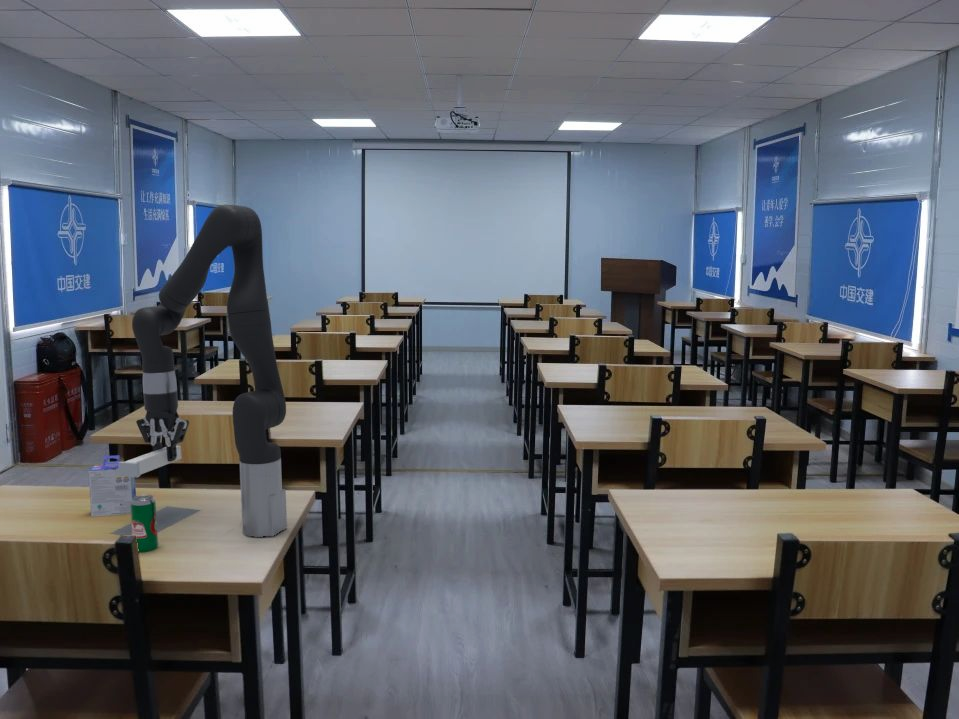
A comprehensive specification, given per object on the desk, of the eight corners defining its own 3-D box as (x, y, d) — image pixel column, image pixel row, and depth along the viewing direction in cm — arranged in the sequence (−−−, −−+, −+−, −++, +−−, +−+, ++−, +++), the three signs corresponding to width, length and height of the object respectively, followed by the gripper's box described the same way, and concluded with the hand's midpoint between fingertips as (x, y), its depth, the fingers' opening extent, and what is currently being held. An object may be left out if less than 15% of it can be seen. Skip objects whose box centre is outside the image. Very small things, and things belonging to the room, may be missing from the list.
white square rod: (184, 458, 195) (184, 446, 195) (137, 477, 179) (136, 463, 179) (167, 457, 197) (166, 445, 196) (119, 476, 181) (118, 462, 180)
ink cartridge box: (137, 508, 202) (134, 453, 200) (134, 515, 196) (130, 458, 194) (95, 511, 199) (91, 455, 197) (90, 519, 194) (86, 461, 192)
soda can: (128, 552, 173) (124, 499, 171) (147, 544, 177) (144, 492, 175) (144, 556, 170) (140, 502, 169) (163, 548, 175) (160, 496, 173)
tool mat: (201, 512, 199) (201, 509, 198) (146, 540, 180) (146, 537, 180) (167, 508, 201) (167, 506, 201) (109, 535, 182) (109, 533, 182)
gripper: (195, 388, 191) (199, 458, 194) (146, 386, 195) (151, 455, 198) (175, 393, 184) (180, 466, 187) (124, 391, 188) (130, 462, 190)
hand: (165, 459), depth 192 cm, fingers closed on white square rod, 3 cm apart
